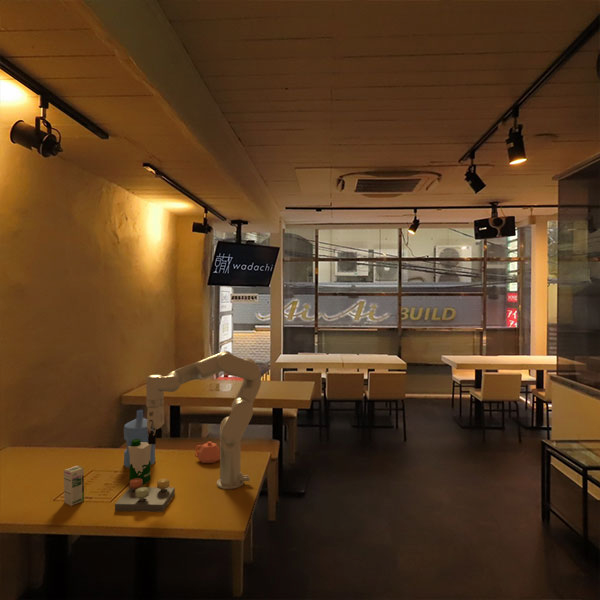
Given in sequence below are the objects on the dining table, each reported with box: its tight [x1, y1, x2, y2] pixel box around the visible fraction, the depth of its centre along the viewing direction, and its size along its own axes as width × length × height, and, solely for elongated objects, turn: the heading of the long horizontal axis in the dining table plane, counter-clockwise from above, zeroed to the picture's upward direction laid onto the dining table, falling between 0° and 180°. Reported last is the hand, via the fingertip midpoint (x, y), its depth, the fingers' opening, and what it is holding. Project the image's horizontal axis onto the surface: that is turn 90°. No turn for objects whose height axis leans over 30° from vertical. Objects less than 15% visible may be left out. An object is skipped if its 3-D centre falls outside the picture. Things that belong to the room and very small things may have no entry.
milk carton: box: [128, 439, 151, 487], centre depth 209 cm, size 9×9×20 cm
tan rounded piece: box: [156, 477, 170, 492], centre depth 194 cm, size 5×5×5 cm
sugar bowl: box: [194, 441, 220, 464], centre depth 237 cm, size 12×14×10 cm
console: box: [114, 486, 176, 513], centre depth 190 cm, size 20×16×3 cm
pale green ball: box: [136, 486, 149, 502], centre depth 185 cm, size 5×5×5 cm
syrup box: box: [63, 465, 85, 507], centre depth 190 cm, size 6×6×14 cm
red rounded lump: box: [129, 478, 143, 492], centre depth 194 cm, size 5×5×5 cm
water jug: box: [123, 409, 156, 469], centre depth 232 cm, size 16×16×28 cm
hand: (155, 440), depth 201 cm, fingers open, 7 cm apart
